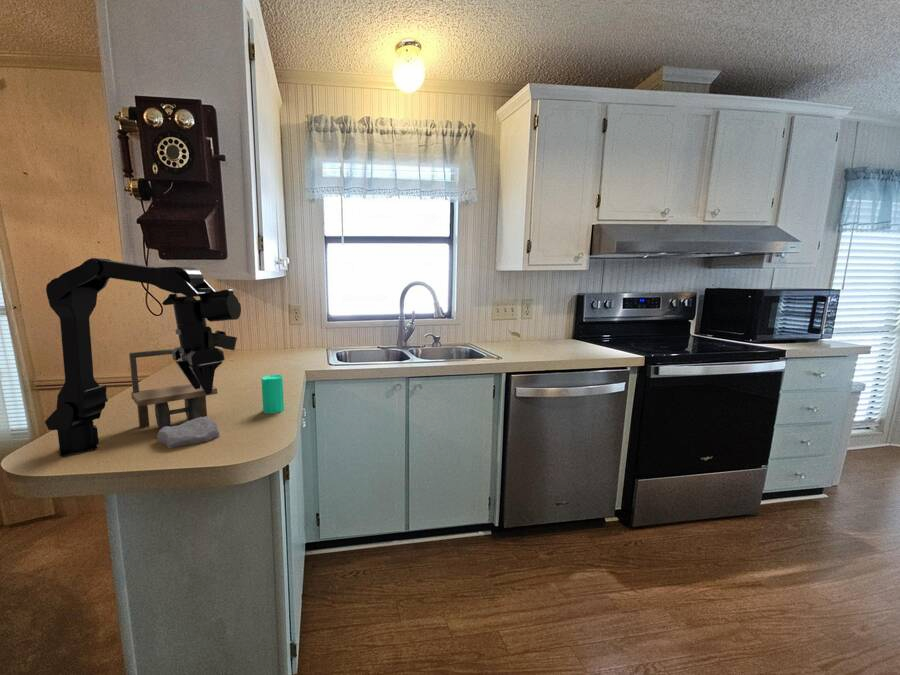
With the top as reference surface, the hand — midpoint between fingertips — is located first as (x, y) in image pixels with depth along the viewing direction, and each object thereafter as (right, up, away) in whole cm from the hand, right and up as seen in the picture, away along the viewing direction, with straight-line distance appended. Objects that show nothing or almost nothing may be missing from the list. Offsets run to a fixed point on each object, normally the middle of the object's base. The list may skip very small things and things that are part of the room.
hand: (203, 391), depth 98 cm
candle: (+3, -10, +33) cm, 34 cm away
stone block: (-8, -14, +9) cm, 18 cm away
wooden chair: (-19, -12, +20) cm, 30 cm away
